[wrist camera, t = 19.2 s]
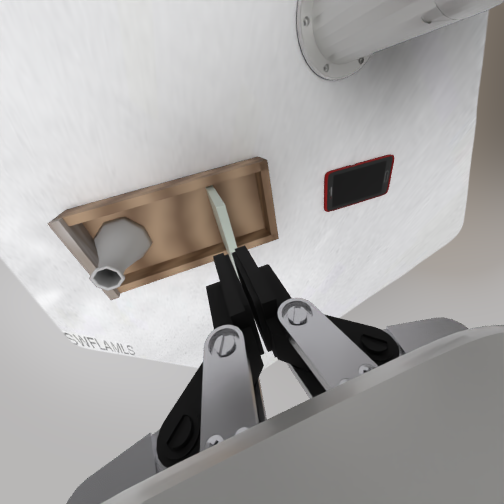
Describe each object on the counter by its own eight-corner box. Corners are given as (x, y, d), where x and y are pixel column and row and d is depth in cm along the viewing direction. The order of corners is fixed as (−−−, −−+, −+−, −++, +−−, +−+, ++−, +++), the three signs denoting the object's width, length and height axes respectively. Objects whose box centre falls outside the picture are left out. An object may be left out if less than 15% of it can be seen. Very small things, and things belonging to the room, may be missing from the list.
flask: (125, 268, 34) (109, 313, 26) (83, 236, 30) (48, 278, 22) (161, 242, 34) (157, 280, 25) (124, 207, 29) (104, 238, 21)
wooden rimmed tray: (257, 156, 33) (269, 161, 28) (270, 229, 40) (280, 241, 36) (65, 209, 28) (47, 223, 24) (118, 280, 36) (110, 300, 32)
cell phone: (384, 192, 44) (388, 193, 43) (322, 211, 42) (325, 213, 41) (391, 153, 40) (395, 153, 39) (323, 171, 38) (326, 173, 37)
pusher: (211, 182, 31) (225, 204, 22) (228, 239, 37) (245, 275, 28) (204, 184, 31) (216, 207, 22) (222, 241, 36) (237, 277, 28)
